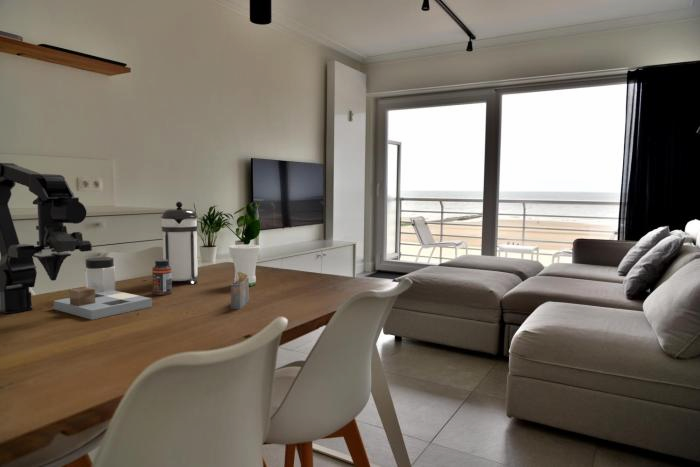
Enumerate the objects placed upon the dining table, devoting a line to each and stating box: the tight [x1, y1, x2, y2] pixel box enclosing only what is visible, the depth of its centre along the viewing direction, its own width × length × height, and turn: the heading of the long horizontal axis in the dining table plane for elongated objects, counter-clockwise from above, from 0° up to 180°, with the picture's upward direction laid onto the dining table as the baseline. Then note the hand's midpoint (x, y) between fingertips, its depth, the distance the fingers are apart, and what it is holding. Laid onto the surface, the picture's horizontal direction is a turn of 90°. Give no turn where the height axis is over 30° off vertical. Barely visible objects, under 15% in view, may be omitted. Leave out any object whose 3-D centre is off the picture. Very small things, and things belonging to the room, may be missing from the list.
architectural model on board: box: [230, 272, 250, 310], centre depth 149 cm, size 11×3×10 cm, turn 179°
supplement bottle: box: [151, 258, 173, 296], centre depth 163 cm, size 6×6×11 cm
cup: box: [228, 244, 261, 287], centre depth 180 cm, size 11×11×14 cm
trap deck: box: [53, 290, 153, 321], centre depth 144 cm, size 18×20×2 cm
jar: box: [84, 256, 116, 293], centre depth 160 cm, size 9×8×12 cm
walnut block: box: [69, 286, 95, 306], centre depth 138 cm, size 5×5×4 cm
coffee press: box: [160, 201, 198, 285], centre depth 184 cm, size 17×16×30 cm
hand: (53, 280), depth 132 cm, fingers closed
